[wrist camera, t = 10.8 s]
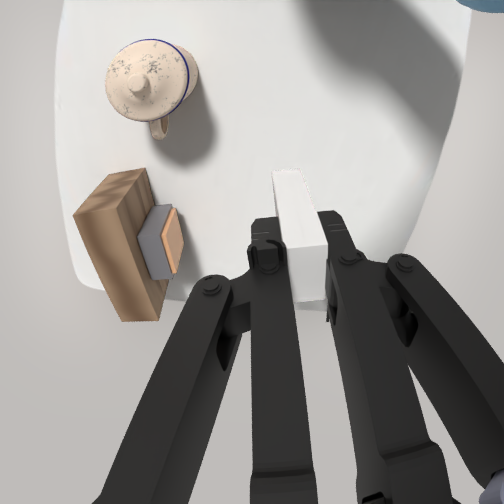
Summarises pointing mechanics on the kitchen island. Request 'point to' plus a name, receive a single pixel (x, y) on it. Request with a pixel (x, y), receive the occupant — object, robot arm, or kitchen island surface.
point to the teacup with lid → (150, 82)
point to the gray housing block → (161, 242)
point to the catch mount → (122, 244)
